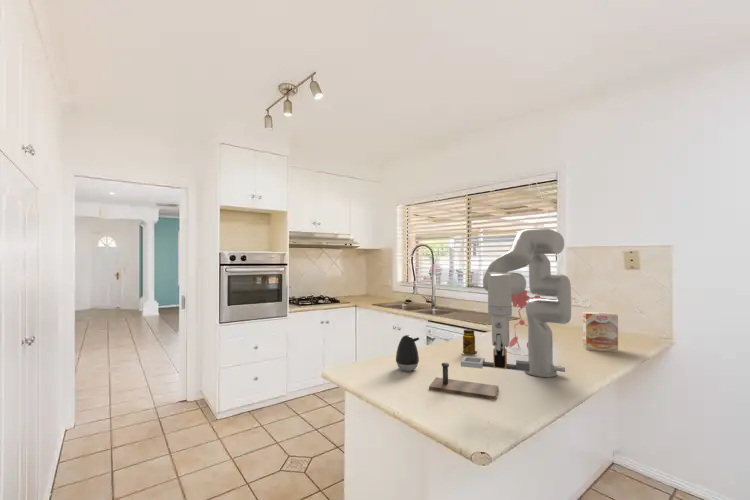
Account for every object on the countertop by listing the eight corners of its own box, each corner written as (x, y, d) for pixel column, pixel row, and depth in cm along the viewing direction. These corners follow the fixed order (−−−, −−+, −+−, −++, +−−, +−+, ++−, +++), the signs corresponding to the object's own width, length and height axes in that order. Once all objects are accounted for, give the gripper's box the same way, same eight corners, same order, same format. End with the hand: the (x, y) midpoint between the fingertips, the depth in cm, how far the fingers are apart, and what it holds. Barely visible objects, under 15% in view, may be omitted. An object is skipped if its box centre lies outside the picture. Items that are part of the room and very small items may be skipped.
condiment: (461, 354, 184) (461, 330, 184) (463, 350, 192) (463, 327, 192) (476, 355, 181) (476, 331, 181) (477, 351, 189) (477, 328, 189)
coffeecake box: (586, 350, 191) (585, 313, 191) (582, 346, 198) (582, 311, 198) (618, 352, 187) (618, 314, 187) (614, 348, 193) (613, 312, 194)
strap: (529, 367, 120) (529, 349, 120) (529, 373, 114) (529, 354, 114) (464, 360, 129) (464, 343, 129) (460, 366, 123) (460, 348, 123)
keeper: (498, 388, 136) (498, 365, 137) (495, 399, 126) (495, 374, 126) (436, 380, 146) (436, 358, 146) (429, 389, 136) (428, 366, 136)
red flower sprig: (507, 343, 205) (505, 282, 205) (549, 354, 183) (548, 285, 183) (488, 347, 197) (487, 284, 197) (531, 359, 175) (529, 287, 175)
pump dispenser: (418, 373, 154) (418, 338, 154) (394, 372, 156) (394, 337, 156) (420, 366, 164) (420, 333, 164) (397, 365, 166) (397, 332, 166)
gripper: (510, 315, 112) (510, 374, 112) (512, 307, 127) (513, 360, 127) (485, 314, 115) (485, 371, 115) (490, 306, 130) (491, 357, 130)
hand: (500, 365), depth 121 cm, fingers closed on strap, 3 cm apart
